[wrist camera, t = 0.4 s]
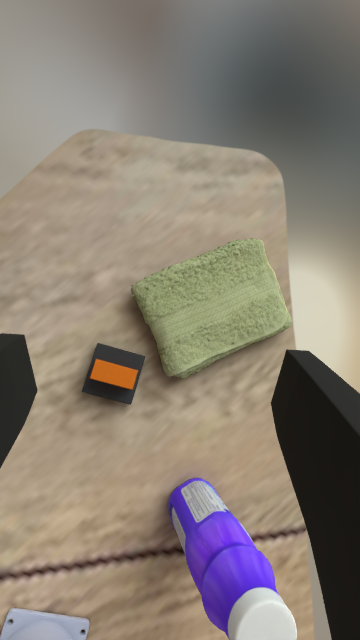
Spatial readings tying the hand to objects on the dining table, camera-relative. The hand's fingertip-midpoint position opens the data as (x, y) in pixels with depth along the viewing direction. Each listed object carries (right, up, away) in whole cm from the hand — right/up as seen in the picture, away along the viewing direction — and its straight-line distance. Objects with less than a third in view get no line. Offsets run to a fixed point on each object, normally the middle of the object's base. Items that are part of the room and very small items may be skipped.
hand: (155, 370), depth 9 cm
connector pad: (-7, -5, +27) cm, 28 cm away
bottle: (+2, -20, +27) cm, 34 cm away
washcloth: (+5, +3, +31) cm, 31 cm away
